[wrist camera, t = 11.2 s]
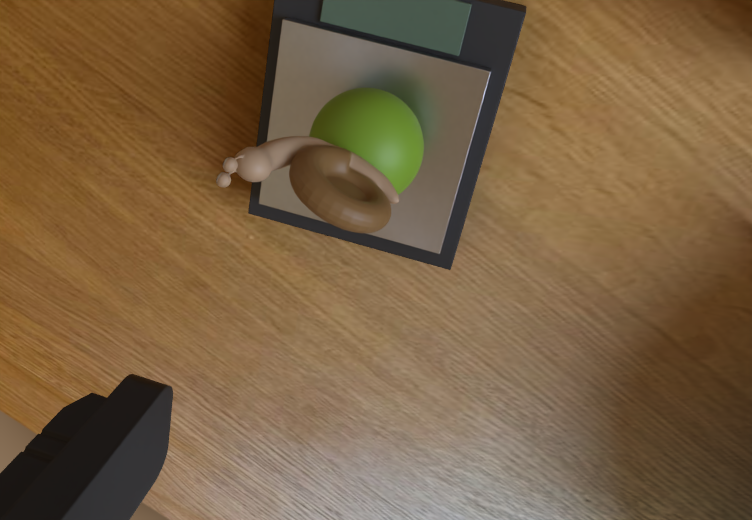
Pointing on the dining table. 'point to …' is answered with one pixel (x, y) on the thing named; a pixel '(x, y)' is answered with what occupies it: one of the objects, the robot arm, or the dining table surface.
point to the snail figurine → (344, 159)
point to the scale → (421, 32)
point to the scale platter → (399, 77)
